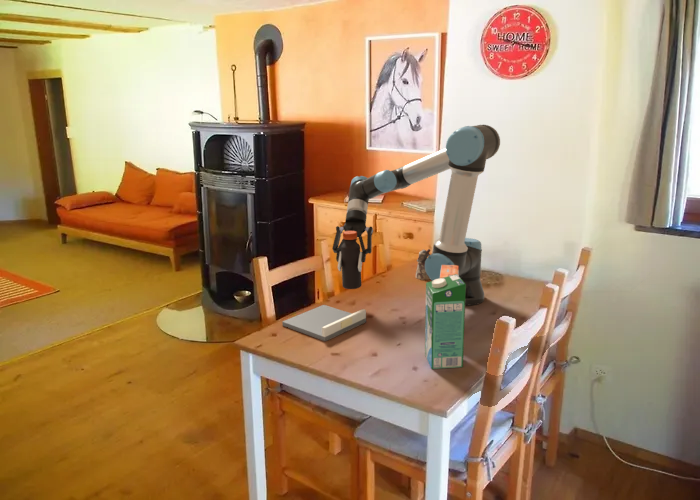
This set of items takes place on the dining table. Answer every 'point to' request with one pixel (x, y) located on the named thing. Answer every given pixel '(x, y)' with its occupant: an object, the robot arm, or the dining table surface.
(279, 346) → the dining table surface
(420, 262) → the figurine
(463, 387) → the dining table surface
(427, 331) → the milk carton
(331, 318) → the grey flat square slab
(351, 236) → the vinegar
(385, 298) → the dining table surface
